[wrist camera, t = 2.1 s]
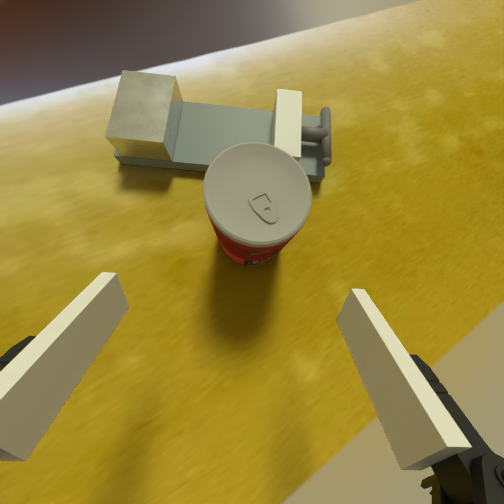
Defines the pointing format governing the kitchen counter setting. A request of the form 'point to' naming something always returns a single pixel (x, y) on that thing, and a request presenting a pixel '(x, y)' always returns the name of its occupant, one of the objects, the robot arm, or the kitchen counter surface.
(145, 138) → the block
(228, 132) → the vise base
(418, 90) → the kitchen counter surface
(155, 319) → the kitchen counter surface
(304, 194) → the canned food
